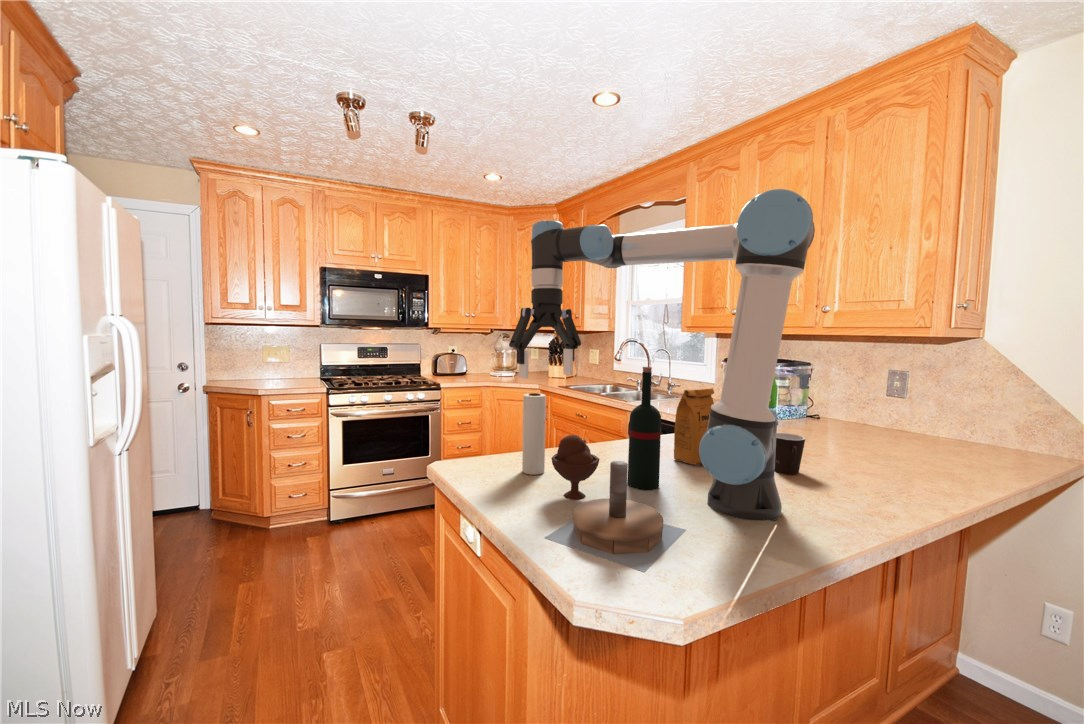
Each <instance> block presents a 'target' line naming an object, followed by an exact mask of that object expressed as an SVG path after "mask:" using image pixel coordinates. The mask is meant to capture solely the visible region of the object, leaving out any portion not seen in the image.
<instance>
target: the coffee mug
mask: <svg viewBox="0 0 1084 724" xmlns="http://www.w3.org/2000/svg"><path fill="white" fill-rule="evenodd" d="M805 443H806V437H804V436H802V435H799V434H793V433H789V432H788V433H787V432H777V436H776V453H775V471H774V473H778V474H781V475H786V476H797V475H799V472H800V467H801V463H802V457H803V452H804V447H805Z"/></svg>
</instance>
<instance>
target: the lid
mask: <svg viewBox="0 0 1084 724" xmlns="http://www.w3.org/2000/svg"><path fill="white" fill-rule="evenodd" d="M609 473H610V474H609V497H607V498H595V499H591V500H586V501H583V502H581V503H579V504H578V505H576V506H575V507H574V509H572V510H573V511H572V520H573V523H574V526H573V529H574V531H575V533H576V535H577V537H578V539H579V541H580V542H581V544H583V545H586V546H589V547H592V548H595V549H598V550H601V551H604V552H607V553H610V554H629V553H644V552H649V551H650V550H651V549H652V548H654V547H655V546H656V545H657V544H658V543H659V542H660V541H661V540H662V531H663V524H664V517H663V515H662V514H661V513H660V512H659V511H658V510H657V509H656V508H655V507H652V506H649V505H648V504H645V503H642V502H639V501H636V500H635V501H634V500H629V499H627V496H628V495H627V494H628V492H627V491H628V484H627V479H628V462H625V461H622V460H621V461H620V460H616V461H615V460H613V461H611V462H610V469H609Z"/></svg>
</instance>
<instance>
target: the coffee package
mask: <svg viewBox="0 0 1084 724" xmlns="http://www.w3.org/2000/svg"><path fill="white" fill-rule="evenodd" d="M713 394H715V391H714V388H713V387H712V388H702V389H684V391H683V393H682V396H681V398H680V401H679V402H678V405H677V407H676V410H675V411H676V413H675V421H674V422H675V423H674V432H673V433H674V437H673V438H674V442H673V443H674V444H673V459H674V460H675V461H679V462H682V463H683V462H684V463H685V464H688V465H700V464H702V462H701V459H700V455H699V446H700V441H701V439H702V437H703V435H704V434H705V433H706V432H707V427H708V421H709V415H710V410H711V406H712V405H713V404H714V402H715V401H714V400H713V399H714V398H713V397H712V395H713Z"/></svg>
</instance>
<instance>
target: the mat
mask: <svg viewBox="0 0 1084 724" xmlns="http://www.w3.org/2000/svg"><path fill="white" fill-rule="evenodd" d="M573 526H574V523H573V519H572V520H571V521H569V522H568V523H566V524H564V525H562V526H561V527H560V528H558V529H556V530H554V531H553V532H551V533H549V534H548V535H546V536H544V538H543V539H546V540H548V541H551V542H554V543H557V544H560V545H563V546H566V547H569V548H572V549H575V550H578V551H581V552H583V553H587V554H589V555H592V556H595V557H597V558H601V559H604V560H606V561H609V562H613V563H616V564H619V565H622V566H624V567H628V568H630V569H633V570H635V571H639V572H642V573H646V571H648V570H649V568H650V567H652V565H653V564H654V563H655V562H657V560H658V559H659V558H661V556H662V555H663V554H664V553H665V552H667V551H668V549H669V548H670V547H671V546H672V545H673V544H674V543H675V542H677V540H678V539H679V538H680V537H681V536H682V535H683V534H684V533H685V532H686V531H687V529H684V528H680V527H679V526H678V527H677V526H673V525H670V524H667V523H663V531H662V540H661V541H660V542H659V543H658V544H657V545H656V546H655V547H654V548H652V549H651V550H650V551H649V552H644V553H629V554H610V553H607V552H604V551H601V550H598V549H595V548H592V547H589V546H586V545H583V544H581V542H580V541H579V539H578V537H577V535H576V533H575V531H574V529H573Z"/></svg>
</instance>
